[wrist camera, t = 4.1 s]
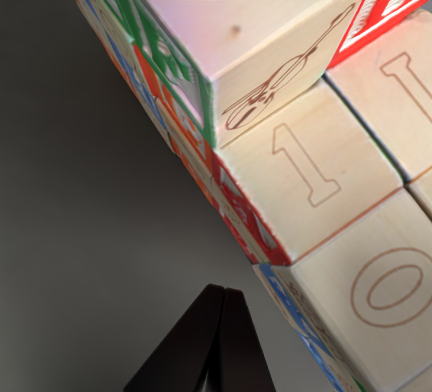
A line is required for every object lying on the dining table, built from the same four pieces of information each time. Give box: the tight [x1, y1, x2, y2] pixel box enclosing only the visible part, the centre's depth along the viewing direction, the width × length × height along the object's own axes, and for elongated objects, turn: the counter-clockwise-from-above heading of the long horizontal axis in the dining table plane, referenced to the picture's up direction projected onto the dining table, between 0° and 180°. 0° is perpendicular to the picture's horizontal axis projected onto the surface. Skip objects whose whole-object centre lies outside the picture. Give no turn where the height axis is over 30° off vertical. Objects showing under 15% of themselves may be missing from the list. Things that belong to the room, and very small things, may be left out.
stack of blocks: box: [75, 0, 432, 392], centre depth 12 cm, size 21×6×12 cm, turn 34°
